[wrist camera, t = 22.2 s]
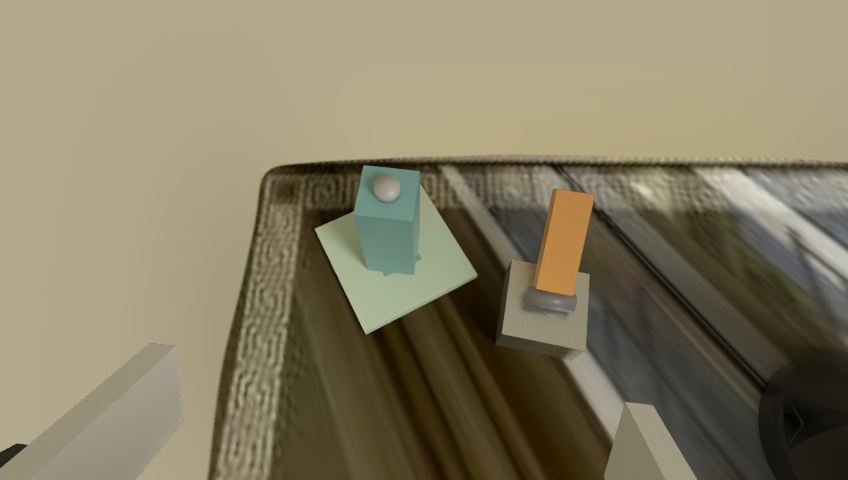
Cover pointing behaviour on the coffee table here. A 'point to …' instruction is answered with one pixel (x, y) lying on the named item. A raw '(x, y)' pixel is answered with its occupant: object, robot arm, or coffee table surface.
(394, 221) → the teal tall block
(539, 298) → the lever
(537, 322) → the box
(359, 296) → the pad
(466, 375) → the coffee table surface
